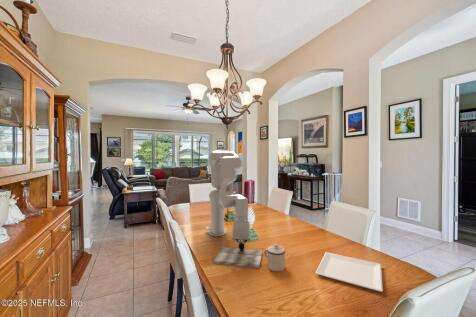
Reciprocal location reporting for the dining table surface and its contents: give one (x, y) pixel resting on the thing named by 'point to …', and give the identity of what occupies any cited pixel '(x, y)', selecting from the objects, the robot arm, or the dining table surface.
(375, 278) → the plate
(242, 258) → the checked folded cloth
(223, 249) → the folded checkered cloth
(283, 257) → the teacup with lid
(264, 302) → the dining table surface
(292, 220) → the dining table surface
